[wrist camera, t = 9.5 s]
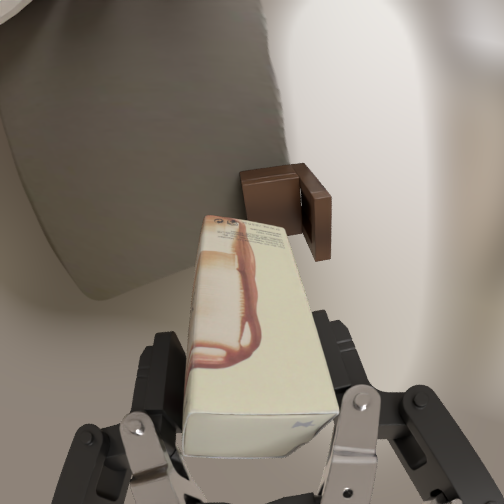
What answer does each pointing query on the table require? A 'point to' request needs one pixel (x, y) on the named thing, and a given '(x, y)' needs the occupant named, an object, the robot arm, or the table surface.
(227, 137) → the table surface
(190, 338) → the cream cosmetic box
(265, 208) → the miniature wooden chair
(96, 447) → the robot arm
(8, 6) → the white domed disc
